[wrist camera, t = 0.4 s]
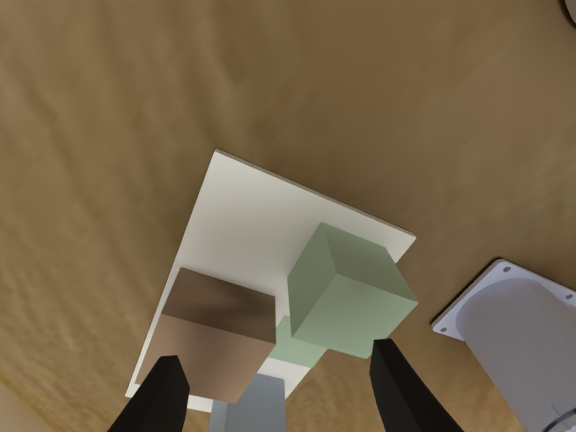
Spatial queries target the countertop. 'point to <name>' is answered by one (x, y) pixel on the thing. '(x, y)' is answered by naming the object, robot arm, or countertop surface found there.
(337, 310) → the sage cube
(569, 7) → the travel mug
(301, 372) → the white rectangular board
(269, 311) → the walnut base
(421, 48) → the countertop surface
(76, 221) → the countertop surface
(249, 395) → the slate cube
